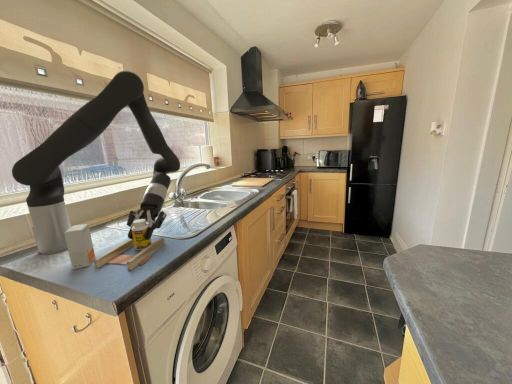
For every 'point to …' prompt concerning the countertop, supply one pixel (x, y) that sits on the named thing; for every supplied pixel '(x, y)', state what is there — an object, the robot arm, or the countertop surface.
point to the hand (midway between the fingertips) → (138, 238)
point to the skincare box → (80, 246)
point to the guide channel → (129, 260)
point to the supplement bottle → (140, 234)
